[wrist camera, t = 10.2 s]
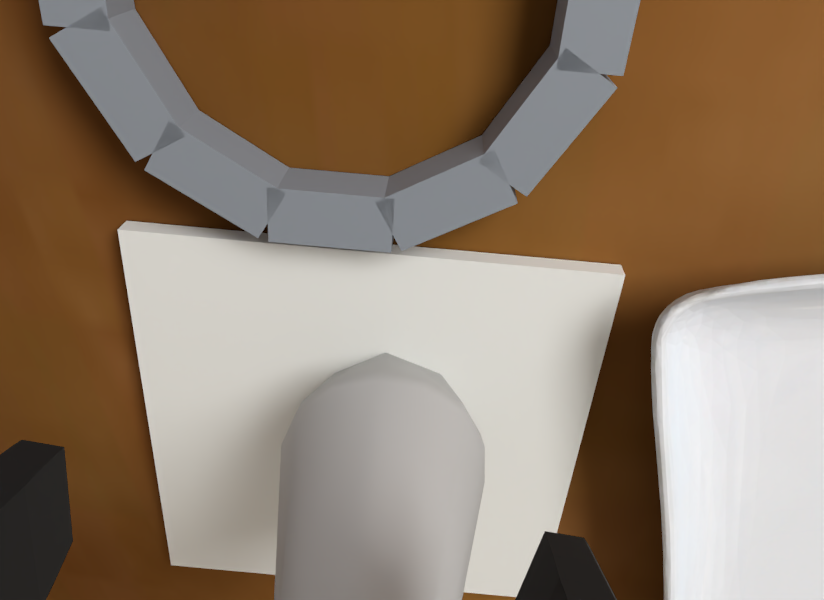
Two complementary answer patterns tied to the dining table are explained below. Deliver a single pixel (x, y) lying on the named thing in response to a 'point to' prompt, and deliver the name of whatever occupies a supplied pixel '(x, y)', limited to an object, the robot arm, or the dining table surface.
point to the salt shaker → (378, 488)
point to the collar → (337, 191)
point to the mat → (347, 346)
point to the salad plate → (741, 440)
